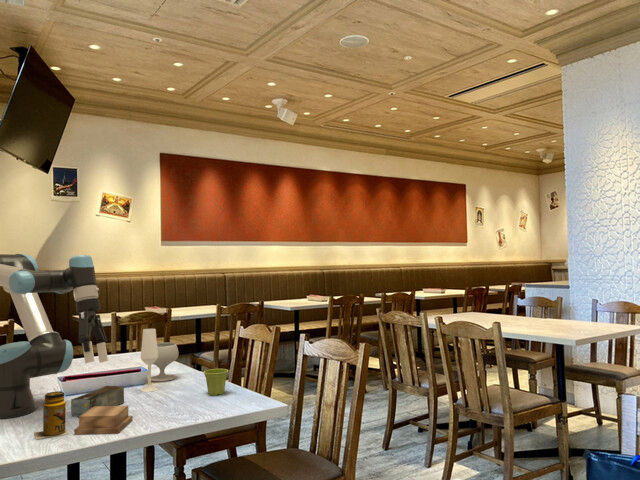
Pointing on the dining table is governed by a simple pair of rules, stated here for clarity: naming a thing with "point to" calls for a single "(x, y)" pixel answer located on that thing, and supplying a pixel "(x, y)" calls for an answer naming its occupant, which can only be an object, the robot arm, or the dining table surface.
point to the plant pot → (216, 381)
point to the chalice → (165, 360)
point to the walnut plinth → (103, 420)
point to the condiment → (53, 416)
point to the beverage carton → (97, 399)
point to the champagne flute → (149, 354)
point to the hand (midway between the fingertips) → (97, 362)
